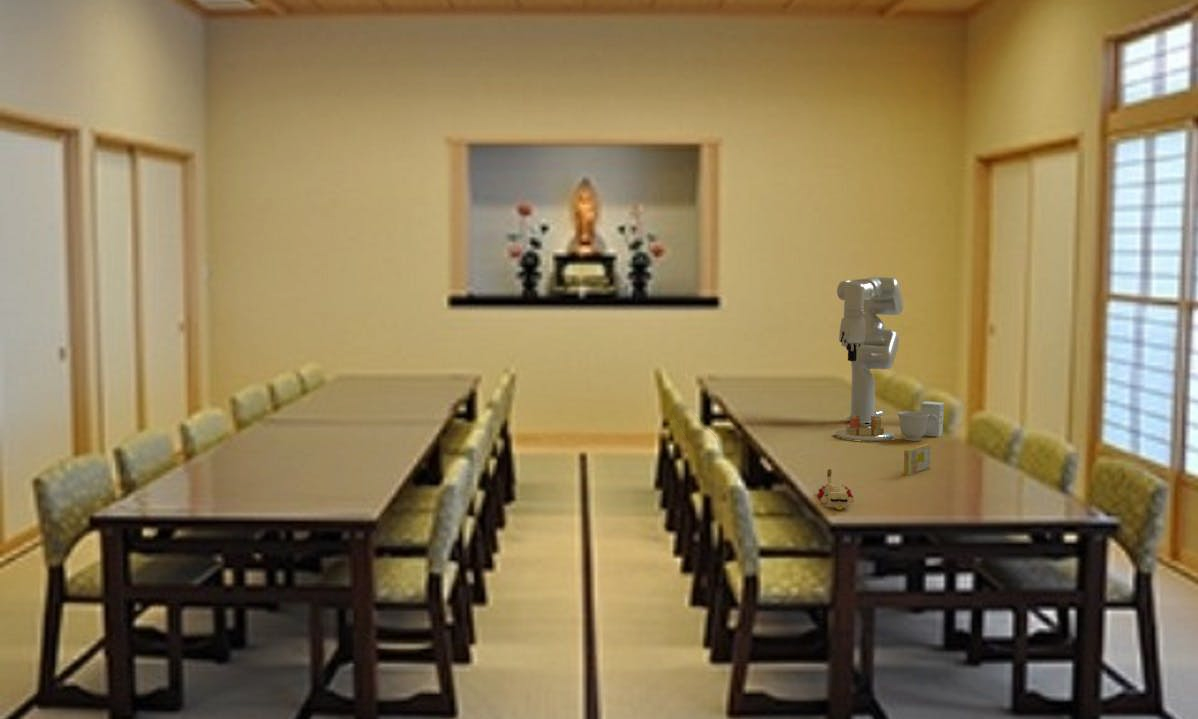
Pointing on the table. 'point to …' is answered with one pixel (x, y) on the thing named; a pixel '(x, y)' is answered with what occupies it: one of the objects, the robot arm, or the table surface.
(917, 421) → the teacup
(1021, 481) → the table surface
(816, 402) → the table surface
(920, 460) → the candy box
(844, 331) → the robot arm
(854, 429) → the wooden block ring
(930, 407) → the supplement box
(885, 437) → the cap plate
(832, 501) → the cat figure
